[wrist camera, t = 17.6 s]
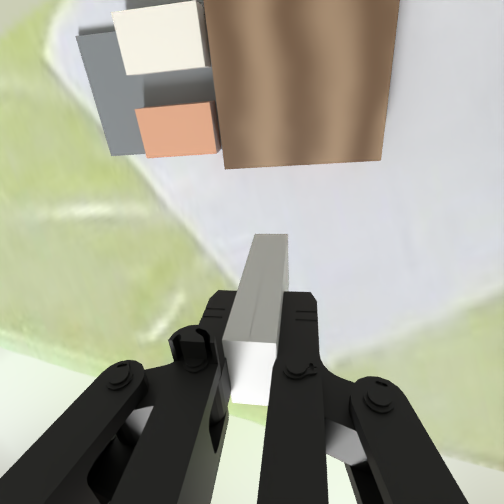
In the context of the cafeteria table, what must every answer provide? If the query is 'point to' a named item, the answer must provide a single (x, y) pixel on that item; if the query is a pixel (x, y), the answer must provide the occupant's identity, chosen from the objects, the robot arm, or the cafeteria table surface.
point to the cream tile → (162, 38)
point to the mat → (135, 90)
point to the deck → (301, 79)
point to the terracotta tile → (179, 129)
